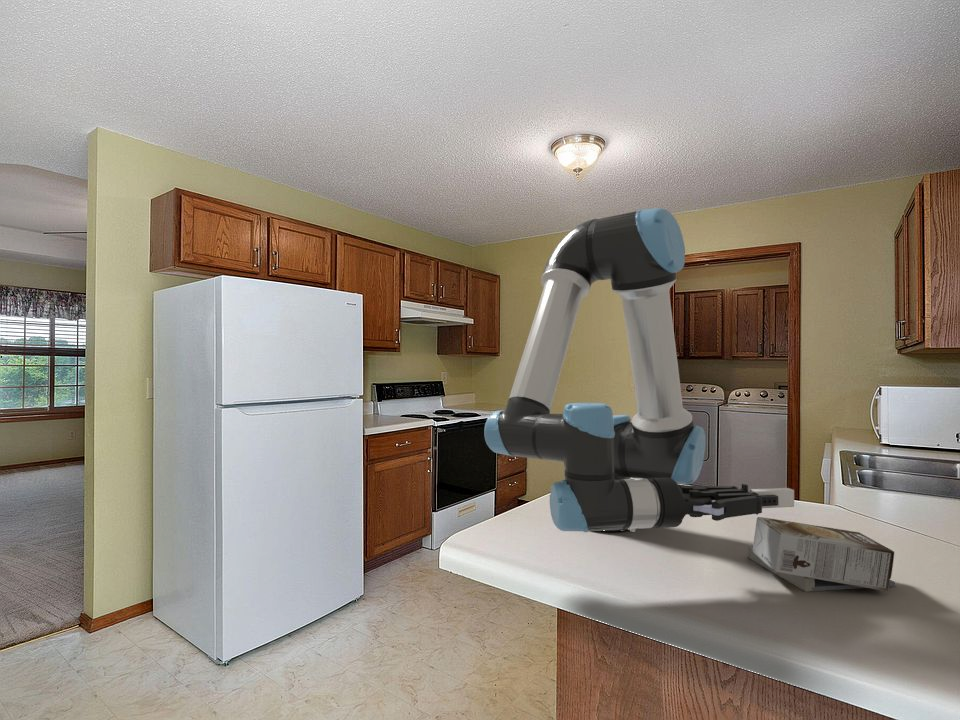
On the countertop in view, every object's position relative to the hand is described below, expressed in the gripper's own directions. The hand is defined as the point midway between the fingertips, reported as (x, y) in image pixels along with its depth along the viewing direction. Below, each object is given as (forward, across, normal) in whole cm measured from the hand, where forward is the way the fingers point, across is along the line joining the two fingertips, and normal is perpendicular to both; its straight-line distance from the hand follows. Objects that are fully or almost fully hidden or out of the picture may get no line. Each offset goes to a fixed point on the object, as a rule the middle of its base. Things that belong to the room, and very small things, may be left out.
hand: (790, 497), depth 84 cm
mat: (+7, -2, -13) cm, 15 cm away
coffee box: (-5, 0, -7) cm, 8 cm away
